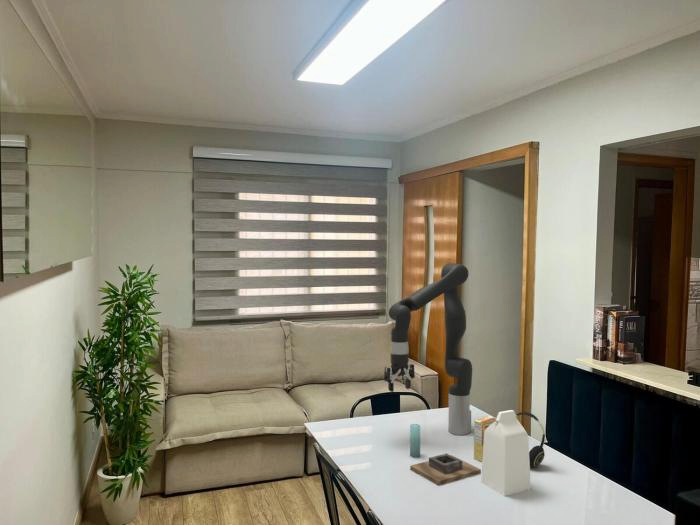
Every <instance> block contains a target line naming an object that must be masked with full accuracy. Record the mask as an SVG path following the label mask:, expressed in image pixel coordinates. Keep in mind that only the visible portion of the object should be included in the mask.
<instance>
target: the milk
mask: <svg viewBox="0 0 700 525" xmlns="http://www.w3.org/2000/svg"><path fill="white" fill-rule="evenodd" d="M516 415H517V414H516V411H515V410H513V409H509V410H502V411H498V413H497V415H496V418H495V419H496V421H495V422H493V423H492V424H491V425H490V426H489V427H487V428H486V430H485V432H484V444H483V460H482V462H481V463H482V464H481V479H480V484H482V483H483V485H484V486H486V487H488V488H490V489H491V490H493V491H495V492H496V493H499V495H502V496H504V497H505V496H509V495H513V494H517V493H521V492H524V491H528V490H530V489H532V486H531V485H532V483H531V467H530V461H529V452H530V447H529V445H530V444H529V434H528V433H527V431H526V430H525V428H524V426H523V425H522V424H521V423H520V421H519V420H518V418H517V416H516Z"/></svg>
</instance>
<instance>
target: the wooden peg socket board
mask: <svg viewBox="0 0 700 525" xmlns="http://www.w3.org/2000/svg"><path fill="white" fill-rule="evenodd" d="M409 470H410V471H412V472H414V473H416V474H417V475H419V476H421V477H422V478H425V479H426V480H428V481H430V482H431V483H433V484H435V485H437V486H443V485H445V484H448V483H452V482H456V481H459V480H462V479H467V478H468V477H473V476H477V475H480V474H482V468H480V467H476V466H475V465H473V464H471V463H468V462H467V461H464V460H463V459H460V458H458V457H456V456H454V455H452V454H449V453H443V454H439V455H434V456H431V457H428V460H427V461H423V462H420V463H416V464H411V465H410V468H409Z"/></svg>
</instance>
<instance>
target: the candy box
mask: <svg viewBox="0 0 700 525" xmlns="http://www.w3.org/2000/svg"><path fill="white" fill-rule="evenodd" d="M495 421H496V418H495V417H493V416H485V417H482V418H478V419H476V420H474V423H473V424H474V425H473V426H474V429H473V430H474V431H473V436H474V437H473V459H474V460H476V461H478V462H481V463H482V460H483V444H484V432H485V430H486V428H487V427H489V426H490V425H491V424H492V423H493V422H495Z"/></svg>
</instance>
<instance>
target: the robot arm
mask: <svg viewBox="0 0 700 525" xmlns="http://www.w3.org/2000/svg"><path fill="white" fill-rule="evenodd" d="M440 277H441V278H440V279H438V280H437V281H434V282H432V283H429V284H426V285H424V286H423V287H421V288H419V289H418V290H416V291H414V292H413V293H411V295H408V297H405V298H403V299H401V300H399V301H398V302H395V303H394V304H392V305H391V306H390V308H389V309H388V316H389V318H390V319H392V321H395V324H394V327H393V328H391V333H390V335H391V337H390V338H391V339H390V340H391V341H390V364H391V366H389V367H388V366H385V367H384V374H383V375H384V376H383V381H385V382H387V383H388V391H389V392H391V393H393V392H394V391H395V390H394V389H395V388H394V382H395V380H397V377H402V376H403V377H404V378H405V389H407V390H409V389H410V388H411V387H412V386H411V384H412V382H411V381H412V380H413V379H415V378H416V377H415V364H414V363H409V357H410V356H409V348H410V347H409V328H410V324H411V318H412V315H411V314H412V313H411V312H415V311H416V312H417V311H419V310H421V309H423V307H425V306H427V305H428V304H429V303H430V302H432V301H433V300H434V299H437V298H438V297H440V296H441V295H443V302H444V305H443V306H444V325H445V326H444V328H445V356H444V369H445V373H446V375H447V376H449V377H451V378H455V379H456V383H455V384H452V385H450V386H449V387H448V419H447V420H448V427H447V428H448V433H449V434H453V435H456V436H465V435H469V434H470V433H471V432H472V410H470V409H471V408H470V407H471V405H470V404H471V401H470V400H471V399H470V398H471V397H470V396H471V394H470V392H471V390H472V382H473V381H472V380H473V365H472V364H473V363H472V362H471V361H470V359H468V358H464V357H460V356H459V345H460V342H461V340H462V339H463V337H464V335H465V333H466V330H467V315H466V314H467V313H466V309H465V307H464V305H463V303H462V301H461V297H460V295H459V294H460V293H459V286H461V285H463V284H464V283H466V281H467V280H468V278H469V269H468V268H467V267H466V265H464V264H461V263H453V262H449V263H445V264H444V265H443V267H442V268H441V272H440Z"/></svg>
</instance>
